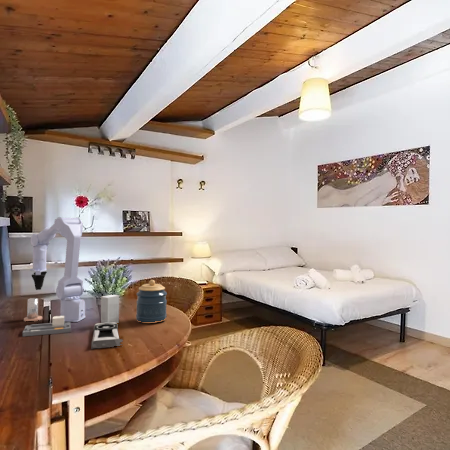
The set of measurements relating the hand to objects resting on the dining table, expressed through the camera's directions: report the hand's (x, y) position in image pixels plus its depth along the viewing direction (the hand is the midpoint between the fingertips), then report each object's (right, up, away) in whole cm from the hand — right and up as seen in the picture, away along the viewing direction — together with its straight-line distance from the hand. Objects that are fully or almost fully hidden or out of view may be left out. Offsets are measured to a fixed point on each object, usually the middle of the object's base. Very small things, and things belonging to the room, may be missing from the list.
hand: (39, 288), depth 171 cm
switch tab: (+23, -9, -31) cm, 40 cm away
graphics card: (+45, -12, -39) cm, 60 cm away
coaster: (+6, -11, -16) cm, 20 cm away
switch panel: (+20, -11, -32) cm, 39 cm away
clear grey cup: (+6, -10, -16) cm, 20 cm away
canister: (+56, -12, -14) cm, 59 cm away
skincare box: (+41, -11, -22) cm, 48 cm away
